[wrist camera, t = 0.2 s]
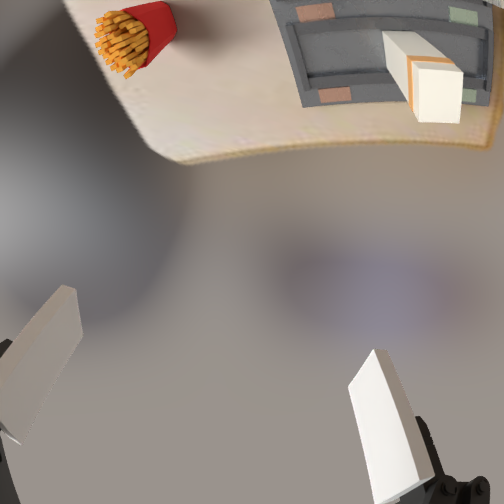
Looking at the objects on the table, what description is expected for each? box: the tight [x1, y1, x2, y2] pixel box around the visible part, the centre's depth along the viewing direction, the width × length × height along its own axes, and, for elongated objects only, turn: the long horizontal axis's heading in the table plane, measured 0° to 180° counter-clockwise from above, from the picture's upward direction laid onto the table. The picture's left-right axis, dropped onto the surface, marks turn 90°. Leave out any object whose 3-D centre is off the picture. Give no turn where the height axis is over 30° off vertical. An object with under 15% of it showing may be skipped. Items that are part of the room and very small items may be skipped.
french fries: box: [94, 1, 177, 79], centre depth 23 cm, size 8×4×12 cm, turn 11°
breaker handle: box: [382, 31, 463, 123], centre depth 20 cm, size 5×4×13 cm
